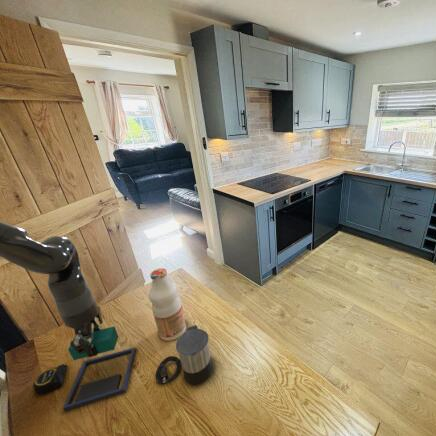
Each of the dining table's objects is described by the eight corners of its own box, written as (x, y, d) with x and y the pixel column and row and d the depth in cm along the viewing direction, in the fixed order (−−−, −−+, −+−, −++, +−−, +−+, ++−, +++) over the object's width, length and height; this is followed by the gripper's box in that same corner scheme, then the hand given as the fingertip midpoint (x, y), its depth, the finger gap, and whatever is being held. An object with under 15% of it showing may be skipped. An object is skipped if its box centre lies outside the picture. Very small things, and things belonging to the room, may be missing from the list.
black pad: (76, 405, 67) (74, 402, 67) (83, 388, 72) (81, 384, 71) (117, 392, 71) (116, 389, 70) (121, 376, 75) (120, 373, 74)
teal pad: (73, 360, 69) (67, 349, 67) (80, 346, 73) (75, 335, 71) (114, 349, 72) (109, 339, 70) (118, 336, 76) (114, 326, 75)
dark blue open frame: (65, 412, 66) (62, 408, 65) (86, 365, 79) (83, 361, 78) (126, 393, 71) (124, 389, 70) (136, 351, 84) (134, 347, 83)
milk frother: (218, 374, 77) (213, 342, 71) (166, 410, 67) (155, 377, 61) (201, 344, 86) (195, 314, 80) (153, 372, 77) (143, 340, 71)
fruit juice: (155, 342, 87) (136, 281, 75) (166, 321, 96) (151, 264, 84) (181, 342, 87) (166, 281, 76) (190, 321, 96) (178, 264, 84)
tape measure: (63, 389, 72) (58, 381, 70) (32, 400, 69) (27, 392, 67) (69, 369, 77) (65, 361, 76) (41, 379, 74) (36, 371, 73)
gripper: (71, 291, 71) (90, 332, 77) (46, 329, 58) (71, 373, 65) (101, 285, 73) (117, 325, 80) (83, 320, 61) (103, 364, 68)
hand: (96, 347), depth 73 cm, fingers closed on teal pad, 5 cm apart
